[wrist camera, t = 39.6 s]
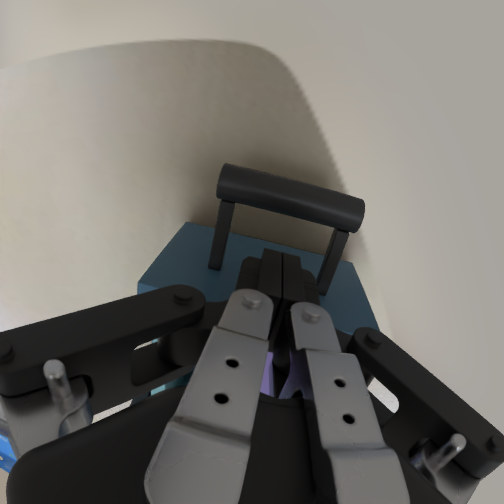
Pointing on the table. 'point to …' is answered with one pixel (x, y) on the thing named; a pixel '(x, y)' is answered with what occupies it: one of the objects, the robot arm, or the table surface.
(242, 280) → the robot arm
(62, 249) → the table surface
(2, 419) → the grey carton
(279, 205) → the drawer
